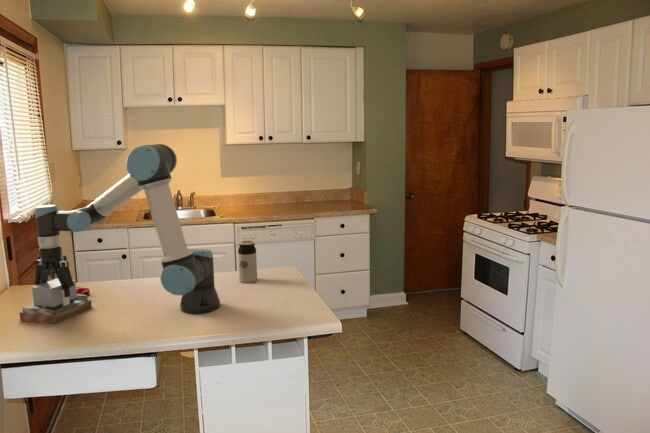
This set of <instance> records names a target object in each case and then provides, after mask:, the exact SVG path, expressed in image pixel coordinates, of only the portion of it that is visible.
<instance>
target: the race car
mask: <svg viewBox="0 0 650 433" xmlns="http://www.w3.org/2000/svg"><path fill="white" fill-rule="evenodd" d="M76 292H77V294H81V295H87V296H88V295H90V288H89V287H86V286H84V287H83V286H82V287H78V286H76Z"/></svg>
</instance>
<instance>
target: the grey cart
mask: <svg viewBox="0 0 650 433" xmlns="http://www.w3.org/2000/svg"><path fill="white" fill-rule="evenodd" d="M72 280H73V283H74V286H72V287H70V288H69V289H70V296H69V300H70V303H73V302H74V301H75V298H77V292H76V288H77V284H76V279H72ZM65 286H66V284H65ZM62 288H63V287H62V285H61V283H60V281H59V279H58V278H56V279H54V280H51V281H48V282H45V283H42V284H40V285H35V286H32V287H31V290H32V291H31V292H32V299H33V300H32V301H33V306H36V307H38V308H42V307H43V306H46V307H51V308H52V309H55V310H57V309H58V308H59V306H60V304H62V303H63V301H62V292H61V289H62Z"/></svg>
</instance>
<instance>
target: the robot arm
mask: <svg viewBox="0 0 650 433" xmlns="http://www.w3.org/2000/svg"><path fill="white" fill-rule="evenodd" d="M177 161H178V158H177V154H176V153H175V151H174V150H173V149H172V147H170V146H168V145H166V144H163V143H162V144H161V143H159V144H158V143H156V144H145V145H141V146H137V147H135V148H133V149H132V150H131V151H130V152H129V154H128V155H127V157H126V161H125V166H126V171H127V173H128V174H127V175H126V176H125V177H123V178H122V179H120V180H119V181H118V182H117V183H115V184H114V185H113V186H112V187H110V188H109V189H107V190H106V191H104V193H103V194H101V195H100V196H99V197H97V198H96V199H95V200H94V201H92V202H90V203H89V204H88V205H87V206H84V207H80V208H77V209H74V210H73V209H71V210H58V207H57V205H55V204H43V205H39V206H36V207H35V209H34V218H35V219H34V220H35V225H36V232H37V243H38V247H39V249H38V253H39V257H40V259H37V260H34V264H35V271H34V272H35V273H34V285H35V286H37V285H40V284H42V283H45V282H47V280H48V276H49V273H50V271H53V272H54V273H55V274H56V275H57V277H58V279H59V281H60V283H61V285H62V287H63V288H62V289H61V292H62V301H63V306H66V305H68V304H70V300H69V296H70V289H69V288H70V287H72V286H74V283H73V280H74V279H73V278H72V274H71V270H70V267H69V265H70V262H69V261H68V260H67V261H62V260H61V255H63V251H62V246H61V244H62V241H61V233H60V232H75V233H79V232H85V231H87V230H88V229H89V228H90V227H91V226H94V225H98V224H100V223H102V222H104V221H105V220H106V219H107V217H108V216H109V215H110V214H112V213H114V211H116V210H117V209H119V207H121V206H122V205H124V204H125V203H127V202H128V201H129V200H130V199H132V198H133V197H134V196H136V195H137V194H138V193H140V192H142V190H143V191H144V194H145V197H146V200H147V204H148V207H149V211H150V214H151V218H152V220H153V224H154V228H155V230H156V233H157V238H158V241H159V244H160V247H161V251H162V255H163V257H162V259H161V260H160V262H161V266H162V271H161V274H160V283H161V285H162V288H164V289H165V291H166V292H168V293H170V294H171V295H174V296H181V300H180V302H179V303H180V304H179V308H180V311H181V312H183V313H186V314H206V313H211V312H214V311H216V310H218V309H219V308H220V306H221V299H220V297H219V295H218V291H217V290H216V287H215V271H214V269H215V268H214V255H213V251H212V250H211V249H206V248H205V249H204V248H195V249H194V248H193V249H190V248H188V246H187V242H186V239H185V236H184V232H183V229H182V226H181V225H182V224H181V222H180V218H179V215H178V211H177V208H176V204H175V200H174V197H173V195H172V192H171V188H170V183H171V180H172V176H171V173H172V172H173V171H174V170H175V169H176V167H177V163H178V162H177ZM41 258H42V259H41ZM58 269H59V270H58ZM65 284H66V286H65Z"/></svg>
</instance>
